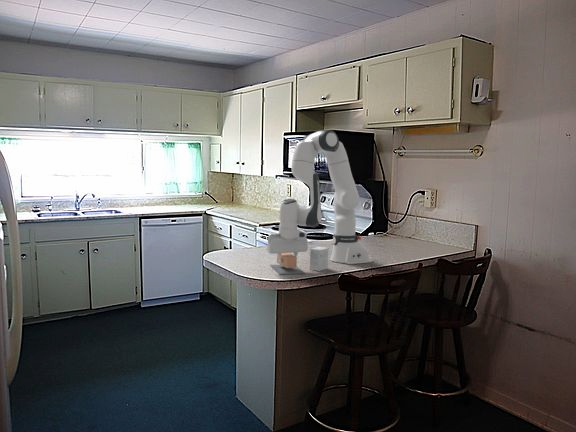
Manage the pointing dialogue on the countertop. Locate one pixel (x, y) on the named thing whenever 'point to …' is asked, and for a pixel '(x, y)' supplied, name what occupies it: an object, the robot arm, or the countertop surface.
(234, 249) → the countertop surface
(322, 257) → the small box
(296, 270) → the mat
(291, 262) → the terracotta block
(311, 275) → the countertop surface
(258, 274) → the countertop surface
